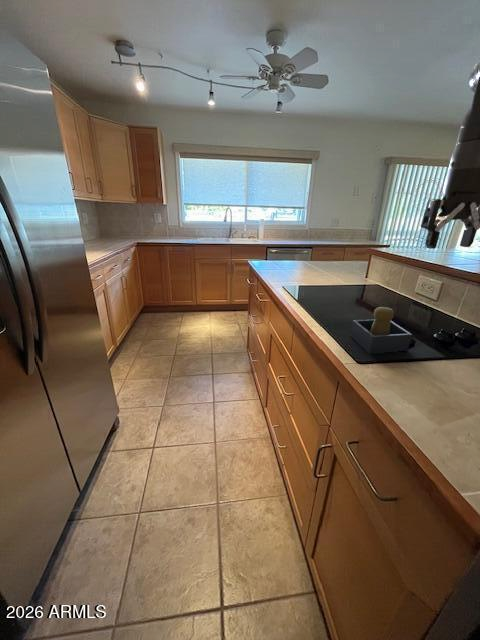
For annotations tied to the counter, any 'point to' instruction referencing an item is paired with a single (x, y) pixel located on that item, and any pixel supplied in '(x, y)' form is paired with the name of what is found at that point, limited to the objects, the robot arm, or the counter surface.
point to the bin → (380, 337)
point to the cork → (382, 321)
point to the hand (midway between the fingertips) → (447, 247)
